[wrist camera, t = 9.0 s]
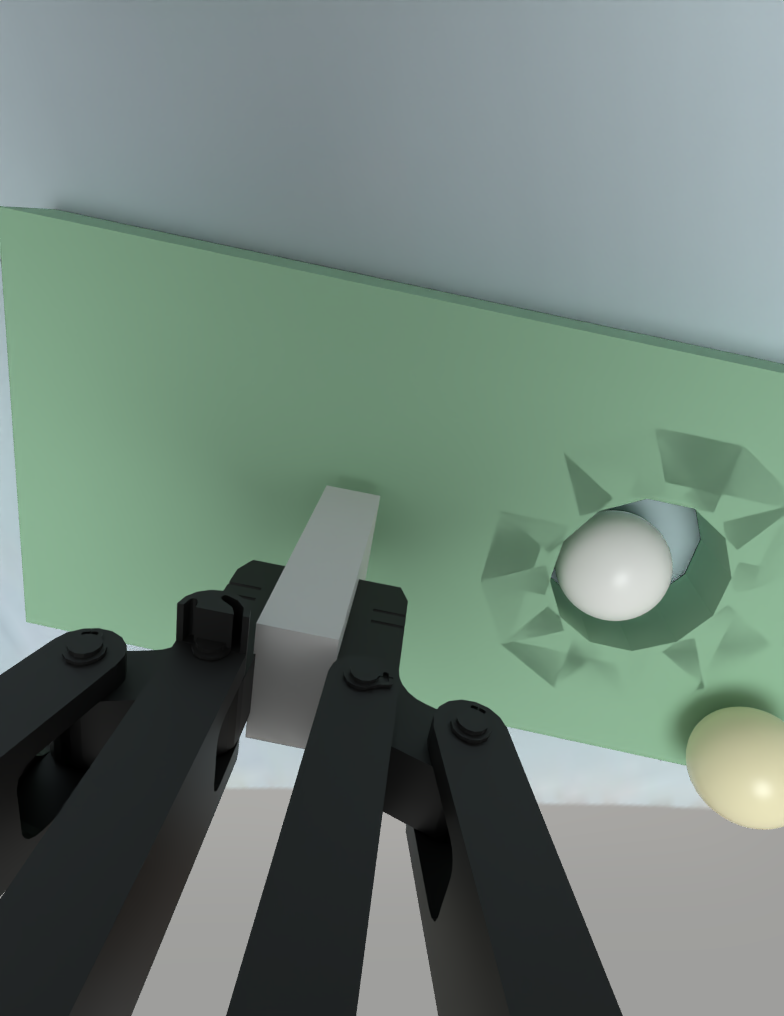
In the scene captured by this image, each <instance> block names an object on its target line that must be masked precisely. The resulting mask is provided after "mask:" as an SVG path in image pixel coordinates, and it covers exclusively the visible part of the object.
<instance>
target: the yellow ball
mask: <svg viewBox="0 0 784 1016" xmlns="http://www.w3.org/2000/svg"><path fill="white" fill-rule="evenodd" d="M686 765H687V770H688V774H689V777H690V780H691V782H692V784H693V786H694V788H695V789H696V791H697V793H698V794H699V795H700V797H701V798H702V799H703V801H704V802H705V803H706V804H707V805H708V806H709V807H710V808H711V809H712V810H714V811H715V812H716V813H717V814H719V815H720V816H722V817H723V818H725V819H727V820H729V821H731V822H732V823H735V824H738V825H740V826H744V827H747V828H752V829H762V830H763V829H766V830H767V829H775V828H780V827H783V826H784V721H782V720H781V719H779V718H778V717H776V716H774V715H772V714H770V713H768V712H765V711H762V710H759V709H755V708H751V707H727V708H723V709H719V710H716V711H714V712H712V713H710V714H709V715H707V716H706V717H704V718H703V719H702V720H701V721H700V722H699V723H698V724H697V725H696V726H695V728H694V729H693V731H692V733H691V735H690V737H689V739H688V743H687V747H686Z"/></svg>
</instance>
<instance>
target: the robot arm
mask: <svg viewBox="0 0 784 1016" xmlns="http://www.w3.org/2000/svg"><path fill="white" fill-rule="evenodd" d="M379 501H380V496H378V495H373V494H368V493H363V492H358V491H353V490H348V489H343V488H338V487H332V486H326V488H325V490H324V492H323V494H322V496H321V497H320V499H319V501H318V503H317V505H316V507H315V509H314V511H313V513H312V515H311V517H310V519H309V521H308V523H307V525H306V527H305V529H304V531H303V533H302V535H301V537H300V539H299V541H298V543H297V544H296V546H295V548H294V550H293V552H292V554H291V556H290V558H289V560H288V562H287V564H286V566H282V565H277V564H272V563H267V562H262V561H257V560H252V561H250V562H248V563H247V564H245V565H243V566H242V567H240V568H238V569H237V570H236V572H235V573H234V575H233V577H232V578H231V580H230V581H229V584H227V586H226V587H225V589H224V590H223V591H221V590H205V591H198V592H195V593H192V594H190V595H187V596H185V597H184V598H183V599H181V600H180V601H179V602H178V603H177V621H176V641H175V643H174V644H173V646H172V647H170V648H166V649H161V650H150V651H127V645H126V643H125V642H124V640H123V638H122V637H121V636H119V635H118V634H116V633H115V632H113V631H109V630H105V629H101V628H84V629H79V630H75V631H71V632H67V633H65V634H63V635H61V636H59V637H57V638H55V639H53V640H52V641H50V642H49V643H47V644H46V645H44V646H43V647H41V648H40V649H38V650H37V651H35V652H34V653H32V654H31V655H29V656H28V657H26V658H25V659H23V660H22V661H20V662H19V663H17V664H16V665H14V666H13V667H11V668H10V669H8V670H7V671H5V672H4V673H2V674H1V675H0V896H1V895H2V894H3V893H4V892H5V893H4V894H3V896H2V897H1V899H0V1016H131V1015H132V1012H133V1010H134V1008H135V1005H136V1003H137V1000H138V998H139V995H140V993H141V990H142V988H143V986H144V983H145V981H146V978H147V976H148V973H149V971H150V969H151V966H152V964H153V961H154V959H155V956H156V954H157V951H158V949H159V947H160V944H161V942H162V940H163V937H164V935H165V932H166V930H167V927H168V925H169V923H170V920H171V918H172V915H173V913H174V910H175V908H176V906H177V903H178V901H179V898H180V896H181V893H182V891H183V889H184V886H185V884H186V881H187V879H188V876H189V874H190V871H191V869H192V867H193V864H194V862H195V859H196V857H197V855H198V852H199V850H200V847H201V845H202V842H203V840H204V838H205V835H206V833H207V830H208V828H209V826H210V823H211V821H212V818H213V816H214V813H215V811H216V808H217V806H218V804H219V801H220V799H221V796H222V794H223V792H224V789H225V787H226V784H227V782H228V779H229V777H230V775H231V772H232V770H233V767H234V765H235V762H236V760H237V755H238V749H239V737H240V735H241V733H242V730H243V728H244V726H245V723H246V721H247V726H246V737H247V738H252V739H257V740H262V741H267V742H272V743H277V744H282V745H287V746H292V747H297V748H302V749H305V751H304V755H303V758H302V761H301V765H300V768H299V771H298V775H297V778H296V782H295V785H294V788H293V792H292V795H291V799H290V803H289V806H288V809H287V812H286V816H285V819H284V822H283V825H282V829H281V832H280V836H279V839H278V842H277V846H276V849H275V853H274V856H273V859H272V863H271V866H270V869H269V873H268V876H267V880H266V883H265V886H264V890H263V893H262V897H261V900H260V903H259V907H258V910H257V913H256V917H255V920H254V924H253V927H252V930H251V934H250V937H249V940H248V944H247V947H246V951H245V954H244V957H243V961H242V964H241V967H240V971H239V974H238V978H237V981H236V984H235V988H234V991H233V994H232V998H231V1001H230V1005H229V1008H228V1012H227V1015H226V1016H356V1011H357V1004H358V997H359V989H360V981H361V974H362V966H363V958H364V950H365V943H366V935H367V928H368V920H369V912H370V905H371V896H372V889H373V882H374V874H375V866H376V859H377V851H378V843H379V836H380V828H381V820H382V813H383V812H385V813H387V814H389V815H391V816H392V817H394V818H396V819H398V820H400V821H402V822H404V823H405V824H406V834H407V840H408V845H409V851H410V857H411V863H412V869H413V874H414V880H415V885H416V891H417V897H418V903H419V908H420V914H421V920H422V925H423V931H424V937H425V942H426V948H427V954H428V959H429V965H430V971H431V977H432V982H433V988H434V994H435V999H436V1005H437V1011H438V1016H623V1015H622V1013H621V1010H620V1008H619V1005H618V1003H617V1000H616V998H615V995H614V993H613V990H612V988H611V986H610V983H609V981H608V978H607V976H606V973H605V971H604V968H603V966H602V963H601V961H600V958H599V956H598V953H597V951H596V948H595V946H594V943H593V941H592V938H591V936H590V934H589V931H588V928H587V926H586V923H585V921H584V918H583V916H582V913H581V911H580V909H579V906H578V904H577V901H576V899H575V896H574V894H573V891H572V889H571V886H570V884H569V881H568V879H567V876H566V874H565V871H564V869H563V866H562V864H561V861H560V859H559V856H558V854H557V851H556V849H555V846H554V844H553V841H552V839H551V837H550V834H549V831H548V829H547V826H546V824H545V821H544V819H543V816H542V814H541V812H540V809H539V806H538V804H537V801H536V799H535V796H534V794H533V792H532V789H531V787H530V784H529V782H528V779H527V777H526V774H525V772H524V769H523V767H522V764H521V762H520V759H519V757H518V754H517V752H516V749H515V747H514V744H513V742H512V739H511V737H510V734H509V732H508V729H507V727H506V726H505V724H504V723H503V721H502V719H501V718H500V717H499V716H498V715H497V714H496V713H494V712H493V711H492V710H491V709H490V708H488V707H486V706H484V705H481V704H479V703H477V702H473V701H468V700H462V699H461V700H453V701H448V702H446V703H444V704H442V705H441V706H439V707H438V709H435V708H433V707H431V706H429V705H427V704H425V703H423V702H421V701H420V700H418V699H416V698H415V697H414V696H412V695H411V694H410V693H409V692H408V691H407V690H406V688H405V687H404V686H403V684H402V682H401V680H400V677H399V667H400V659H401V651H402V644H403V636H404V628H405V621H406V613H407V605H408V600H407V598H406V596H405V594H404V593H403V591H402V589H401V587H396V586H391V585H386V584H381V583H376V582H371V581H366V580H365V579H366V574H367V568H368V562H369V557H370V551H371V546H372V540H373V534H374V529H375V523H376V518H377V512H378V506H379Z"/></svg>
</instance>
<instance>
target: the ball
mask: <svg viewBox="0 0 784 1016" xmlns="http://www.w3.org/2000/svg"><path fill="white" fill-rule="evenodd" d="M555 569H556V576H557V579H558V582H559V585H560V587H561V589H562V591H563V592H564V594H565V596H566V597H567V598H568V599H569V601H570V602H571V603H572V604H573V605H574V606H576V607H577V608H578V609H580V610H581V611H583V612H584V613H586V614H588V615H590V616H592V617H595V618H598V619H602V620H608V621H623V620H629V619H633V618H636V617H639V616H641V615H643V614H645V613H647V612H648V611H650V610H651V609H652V608H654V607H655V606H656V605H657V604H658V603H659V602H660V601H661V599H662V598H663V597H664V595H665V593H666V591H667V590H668V588H669V585H670V582H671V578H672V571H673V564H672V557H671V553H670V550H669V547H668V545H667V543H666V541H665V539H664V537H663V536H662V534H661V533H660V532H659V531H658V530H657V529H656V528H655V527H654V526H653V525H652V524H651V523H649V522H648V521H647V520H645V519H644V518H642V517H640V516H638V515H635V514H632V513H630V512H625V511H620V510H605V511H599V512H597V513H596V514H595V515H594V516H593V517H591V518H590V519H589V520H588V521H587V522H586V523H584V524H583V525H582V526H581V527H580V528H579V529H577V530H576V531H575V532H574V533H573V534H572V535H570V536H569V537H568V538H567V539H566V540H565V541H563V544H562V547H561V550H560V552H559V555H558V558H557V561H556V564H555Z"/></svg>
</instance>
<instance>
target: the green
mask: <svg viewBox="0 0 784 1016" xmlns="http://www.w3.org/2000/svg"><path fill="white" fill-rule="evenodd" d="M0 252H1V267H2V281H3V295H4V310H5V324H6V338H7V353H8V367H9V382H10V396H11V410H12V425H13V439H14V453H15V468H16V482H17V496H18V511H19V525H20V539H21V554H22V568H23V583H24V597H25V611H26V622H29V623H33V624H38V625H43V626H47V627H52V628H56V629H61V630H66V631H70V632H71V631H75V630H79V629H84V628H101V629H105V630H109V631H113V632H115V633H116V634H118V635H119V636H121V637H122V638H123V640H124V642H125V643H126V644H130V645H135V646H139V647H144V648H148V649H153V650H161V649H166V648H170V647H172V646H173V644H174V643H175V641H176V621H177V603H178V602H179V601H180V600H181V599H183V598H184V597H185V596H187V595H190V594H192V593H195V592H198V591H205V590H221V591H223V590H224V589H225V587H226V586H227V584H229V581H230V580H231V578H232V577H233V575H234V573H235V572H236V570H237V569H238V568H240V567H242V566H243V565H245V564H247V563H248V562H250V561H252V560H257V561H262V562H267V563H272V564H277V565H282V566H286V564H287V562H288V560H289V558H290V556H291V554H292V552H293V550H294V548H295V546H296V544H297V543H298V541H299V539H300V537H301V535H302V533H303V531H304V529H305V527H306V525H307V523H308V521H309V519H310V517H311V515H312V513H313V511H314V509H315V507H316V505H317V503H318V501H319V499H320V497H321V496H322V494H323V492H324V490H325V488H326V486H332V487H338V488H343V489H348V490H353V491H358V492H363V493H368V494H373V495H378V496H380V501H379V506H378V512H377V518H376V523H375V529H374V534H373V540H372V546H371V551H370V557H369V562H368V568H367V574H366V579H365V580H366V581H371V582H376V583H381V584H386V585H391V586H396V587H401V589H402V591H403V593H404V594H405V596H406V598H407V600H408V605H407V613H406V621H405V628H404V636H403V644H402V651H401V659H400V667H399V677H400V680H401V682H402V684H403V686H404V687H405V688H406V690H407V691H408V692H409V693H410V694H411V695H412V696H414V697H415V698H416V699H418V700H420V701H421V702H423V703H425V704H427V705H429V706H431V707H433V708H435V709H438V707H439V706H441V705H442V704H444V703H446V702H448V701H453V700H461V699H462V700H468V701H473V702H477V703H479V704H481V705H484V706H486V707H488V708H490V709H491V710H492V711H493V712H494V713H496V714H497V715H498V716H499V717H500V718H501V719H502V721H503V723H504V724H505V726H507V727H511V728H516V729H520V730H525V731H530V732H534V733H539V734H543V735H548V736H553V737H557V738H562V739H566V740H571V741H576V742H580V743H585V744H589V745H594V746H599V747H603V748H608V749H612V750H617V751H622V752H626V753H631V754H635V755H640V756H645V757H649V758H654V759H658V760H663V761H668V762H672V763H677V764H681V765H686V747H687V743H688V739H689V737H690V735H691V733H692V731H693V729H694V728H695V726H696V725H697V724H698V723H699V722H700V721H701V720H702V719H703V718H704V717H706V716H707V715H709V714H710V713H712V712H714V711H716V710H719V709H723V708H727V707H751V708H755V709H759V710H762V711H765V712H768V713H770V714H772V715H774V716H776V717H778V718H779V719H781V720H782V721H784V364H780V363H776V362H771V361H766V360H762V359H757V358H752V357H747V356H743V355H738V354H733V353H729V352H724V351H719V350H715V349H710V348H705V347H700V346H696V345H691V344H686V343H682V342H677V341H672V340H667V339H663V338H658V337H653V336H649V335H644V334H639V333H634V332H630V331H625V330H620V329H616V328H611V327H606V326H602V325H597V324H592V323H587V322H583V321H578V320H573V319H569V318H564V317H559V316H554V315H550V314H545V313H540V312H536V311H531V310H526V309H522V308H517V307H512V306H507V305H503V304H498V303H493V302H489V301H484V300H479V299H474V298H470V297H465V296H460V295H456V294H451V293H446V292H441V291H437V290H432V289H427V288H423V287H418V286H413V285H409V284H404V283H399V282H394V281H390V280H385V279H380V278H376V277H371V276H366V275H361V274H357V273H352V272H347V271H343V270H338V269H333V268H328V267H324V266H319V265H314V264H310V263H305V262H300V261H296V260H291V259H286V258H281V257H277V256H272V255H267V254H263V253H258V252H253V251H248V250H244V249H239V248H234V247H230V246H225V245H220V244H216V243H211V242H206V241H201V240H197V239H192V238H187V237H183V236H178V235H173V234H168V233H164V232H159V231H154V230H150V229H145V228H140V227H135V226H131V225H126V224H121V223H117V222H112V221H107V220H103V219H98V218H93V217H88V216H84V215H79V214H74V213H70V212H65V211H60V210H55V209H39V208H21V207H3V206H0ZM644 499H651V500H656V501H661V502H665V503H670V504H675V505H679V506H684V507H689V508H693V509H695V510H696V514H697V520H698V526H699V531H700V537H701V540H700V542H699V544H698V547H697V549H696V551H695V553H694V555H693V558H692V560H691V562H690V564H689V566H688V569H687V571H686V573H685V574H684V575H683V576H682V577H680V578H679V579H678V580H676V581H675V582H674V583H672V584H671V585H670V586H669V588H668V590H667V591H666V593H665V595H664V597H663V598H662V599H661V601H660V602H659V603H658V604H657V605H656V606H655V607H654V608H652V609H651V610H650V611H648V612H647V613H645V614H643V615H641V616H639V617H636V618H633V619H629V620H623V621H608V620H602V619H598V618H595V617H592V616H590V615H588V614H586V613H584V612H583V611H581V610H580V609H578V608H577V607H576V606H574V605H573V604H572V603H571V602H570V601H569V599H568V598H567V597H566V596H565V594H564V592H563V591H562V589H561V587H560V585H559V584H558V583H557V582H556V581H554V580H553V579H552V578H551V575H552V572H553V570H554V567H555V564H556V561H557V558H558V555H559V552H560V550H561V547H562V544H563V541H565V540H566V539H567V538H568V537H569V536H570V535H572V534H573V533H574V532H575V531H576V530H577V529H579V528H580V527H581V526H582V525H583V524H584V523H586V522H587V521H588V520H589V519H590V518H591V517H593V516H594V515H595V514H596V513H597V512H598V511H601V510H605V509H609V508H613V507H617V506H621V505H625V504H629V503H632V502H636V501H640V500H644ZM686 766H687V765H686Z"/></svg>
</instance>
